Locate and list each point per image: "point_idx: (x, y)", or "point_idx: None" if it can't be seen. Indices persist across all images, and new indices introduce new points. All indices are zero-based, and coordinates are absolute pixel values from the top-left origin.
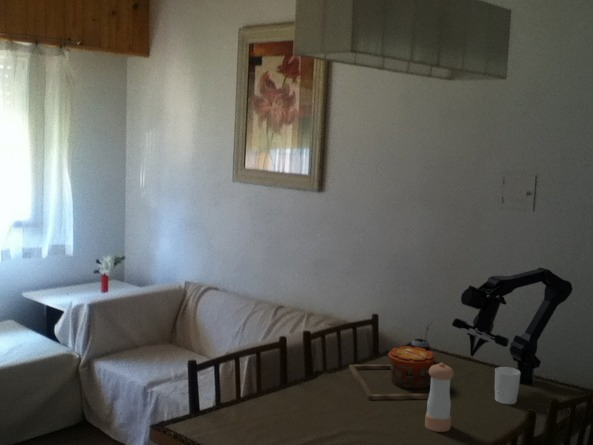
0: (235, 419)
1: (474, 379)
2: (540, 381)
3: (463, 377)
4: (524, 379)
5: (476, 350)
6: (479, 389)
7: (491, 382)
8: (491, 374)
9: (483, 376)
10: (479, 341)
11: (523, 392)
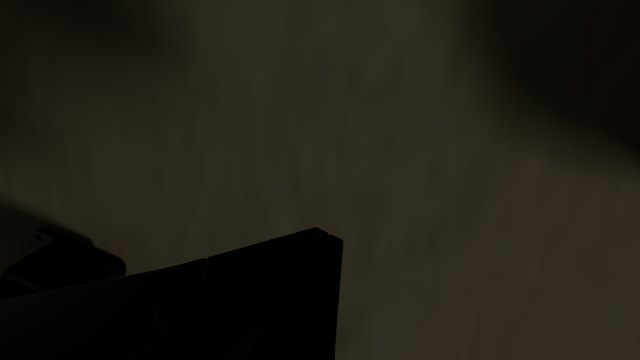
0: None
1: None
2: None
3: (384, 274)
4: (50, 246)
5: (243, 250)
6: (297, 91)
7: (229, 229)
8: None
9: None
10: (75, 351)
11: (57, 114)
